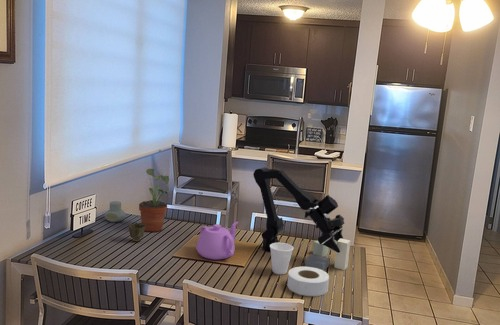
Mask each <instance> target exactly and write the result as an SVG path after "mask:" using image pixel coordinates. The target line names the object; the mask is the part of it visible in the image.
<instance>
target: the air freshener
mask: <svg viewBox="0 0 500 325" xmlns="http://www.w3.org/2000/svg"><path fill="white" fill-rule="evenodd" d="M126 216H127V214H126V212H125V211H124V210H123V209H122V202H121V201H118V200H116V201H110V202H109V209H108V210H107V211H106V212H104V219H105V220H106V221H107V222H110V223H119V222H122V221H123V220H125V218H126Z"/></svg>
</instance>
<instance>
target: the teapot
mask: <svg viewBox="0 0 500 325" xmlns="http://www.w3.org/2000/svg"><path fill="white" fill-rule="evenodd" d="M238 224H239V221H238V220H236V221H235V222H233V223H232V225H231V227H230V230H228V228H226V227H222V225H221V224H217V223H216V224H215V223H214V224H213V225H212V226H207V225H204V226H202V227H201V228H200V232H199V233H200V235H199V237H198V239H197V241H196V246H195V247H196V252H197V253H198V254H199V256H201V257H203V258H204V259H208V260H213V261H214V260H215V261H216V260H224V259H228V258H230V257H232V256H234V253H235V249H236V245H235V240H236V227H237V225H238Z"/></svg>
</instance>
